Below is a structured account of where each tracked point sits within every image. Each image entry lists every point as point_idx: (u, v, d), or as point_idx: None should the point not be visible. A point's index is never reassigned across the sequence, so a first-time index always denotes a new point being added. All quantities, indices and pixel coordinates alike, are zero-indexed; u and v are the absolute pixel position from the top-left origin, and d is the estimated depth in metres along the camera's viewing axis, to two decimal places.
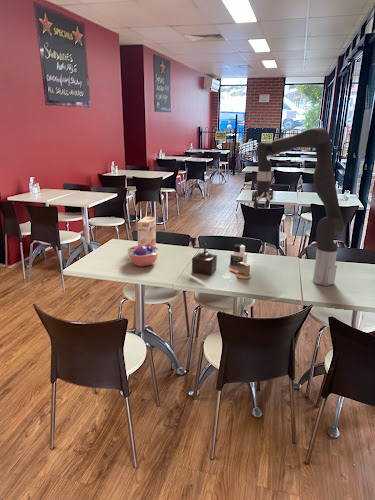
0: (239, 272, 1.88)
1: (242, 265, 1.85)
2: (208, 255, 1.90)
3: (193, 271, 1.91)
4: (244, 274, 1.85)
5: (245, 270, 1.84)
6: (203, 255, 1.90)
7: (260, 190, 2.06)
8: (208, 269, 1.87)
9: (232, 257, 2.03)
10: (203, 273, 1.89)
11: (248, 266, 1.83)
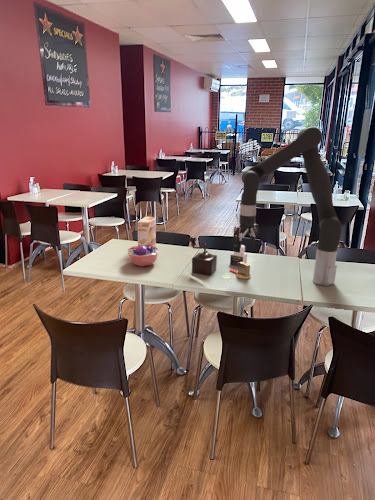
0: (239, 272, 1.88)
1: (242, 265, 1.85)
2: (208, 255, 1.90)
3: (193, 271, 1.91)
4: (244, 274, 1.85)
5: (245, 270, 1.84)
6: (203, 255, 1.90)
7: (243, 226, 1.77)
8: (208, 269, 1.87)
9: (232, 257, 2.03)
10: (203, 273, 1.89)
11: (248, 266, 1.83)
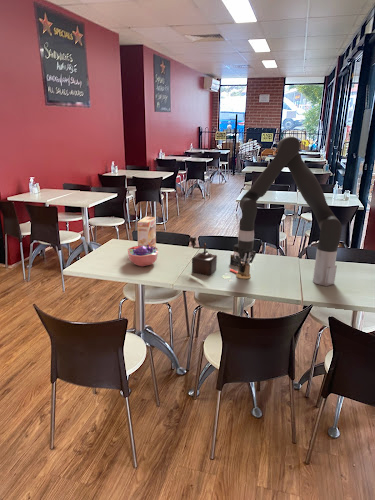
0: (239, 272, 1.88)
1: None
2: (208, 255, 1.90)
3: (193, 271, 1.91)
4: (244, 274, 1.85)
5: (245, 270, 1.84)
6: (203, 255, 1.90)
7: (241, 251, 1.81)
8: (208, 269, 1.87)
9: (232, 257, 2.03)
10: (203, 273, 1.89)
11: (248, 266, 1.83)
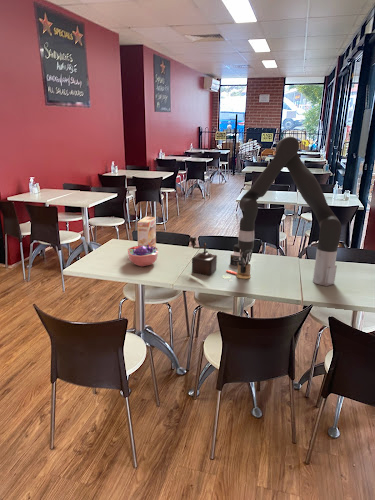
0: (239, 272, 1.87)
1: None
2: (208, 255, 1.90)
3: (193, 271, 1.91)
4: (245, 274, 1.85)
5: (247, 270, 1.84)
6: (203, 255, 1.90)
7: (244, 252, 1.80)
8: (208, 269, 1.87)
9: (232, 257, 2.03)
10: (203, 273, 1.89)
11: (249, 266, 1.84)
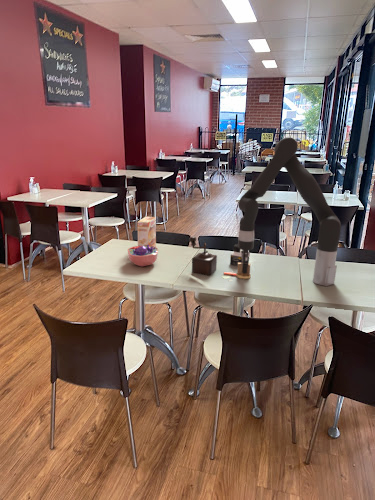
0: (239, 273, 1.87)
1: None
2: (208, 255, 1.90)
3: (193, 271, 1.91)
4: (246, 274, 1.86)
5: (248, 269, 1.85)
6: (203, 255, 1.90)
7: (248, 252, 1.80)
8: (208, 269, 1.87)
9: (232, 257, 2.03)
10: (203, 273, 1.89)
11: (250, 265, 1.85)
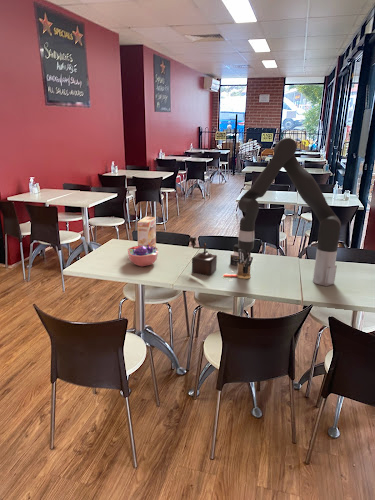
0: (240, 274, 1.86)
1: None
2: (208, 255, 1.90)
3: (193, 271, 1.91)
4: (247, 273, 1.86)
5: (249, 269, 1.85)
6: (203, 255, 1.90)
7: None
8: (208, 269, 1.87)
9: (232, 257, 2.03)
10: (203, 273, 1.89)
11: None
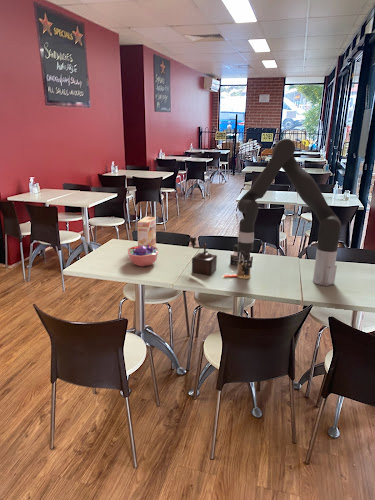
0: (240, 274, 1.86)
1: None
2: (208, 255, 1.90)
3: (193, 271, 1.91)
4: None
5: (249, 268, 1.86)
6: (203, 255, 1.90)
7: None
8: (208, 269, 1.87)
9: (232, 257, 2.03)
10: (203, 273, 1.89)
11: None
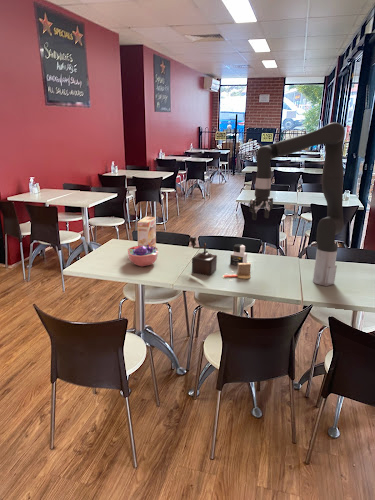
0: (240, 274, 1.86)
1: (244, 265, 1.85)
2: (208, 255, 1.90)
3: (193, 271, 1.91)
4: (247, 273, 1.86)
5: (249, 268, 1.86)
6: (203, 255, 1.90)
7: (259, 199, 1.87)
8: (208, 269, 1.87)
9: (232, 257, 2.03)
10: (203, 273, 1.89)
11: None
